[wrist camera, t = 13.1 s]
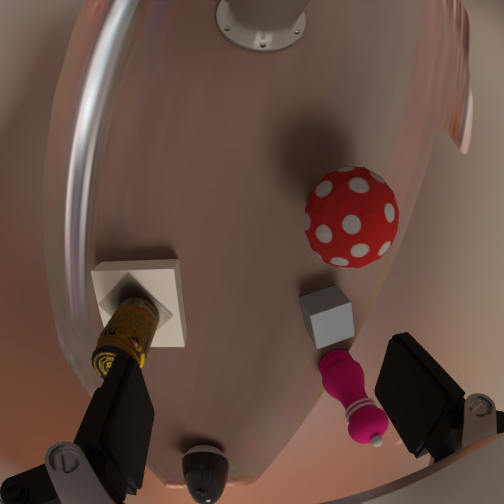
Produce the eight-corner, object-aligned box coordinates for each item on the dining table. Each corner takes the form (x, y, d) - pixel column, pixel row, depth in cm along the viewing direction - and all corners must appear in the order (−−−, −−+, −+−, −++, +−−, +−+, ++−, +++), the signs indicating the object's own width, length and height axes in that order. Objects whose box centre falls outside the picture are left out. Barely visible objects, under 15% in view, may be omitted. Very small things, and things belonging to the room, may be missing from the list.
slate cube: (299, 296, 43) (310, 316, 37) (335, 284, 43) (350, 301, 37) (306, 328, 44) (316, 349, 39) (340, 316, 45) (354, 335, 39)
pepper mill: (359, 360, 48) (407, 436, 29) (328, 382, 49) (366, 464, 30) (341, 339, 46) (393, 422, 27) (308, 364, 47) (345, 453, 28)
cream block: (101, 261, 38) (90, 271, 34) (178, 258, 39) (174, 268, 35) (116, 331, 41) (109, 345, 38) (187, 332, 42) (184, 346, 39)
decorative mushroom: (275, 237, 39) (305, 278, 25) (289, 157, 36) (330, 153, 22) (347, 247, 41) (402, 287, 27) (362, 174, 38) (427, 182, 24)
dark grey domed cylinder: (221, 436, 51) (224, 494, 36) (232, 458, 54) (236, 509, 40) (176, 440, 51) (171, 495, 36) (191, 461, 54) (190, 512, 39)
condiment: (142, 343, 38) (120, 399, 26) (98, 303, 36) (62, 352, 24) (173, 315, 37) (158, 372, 26) (128, 271, 35) (92, 316, 23)
